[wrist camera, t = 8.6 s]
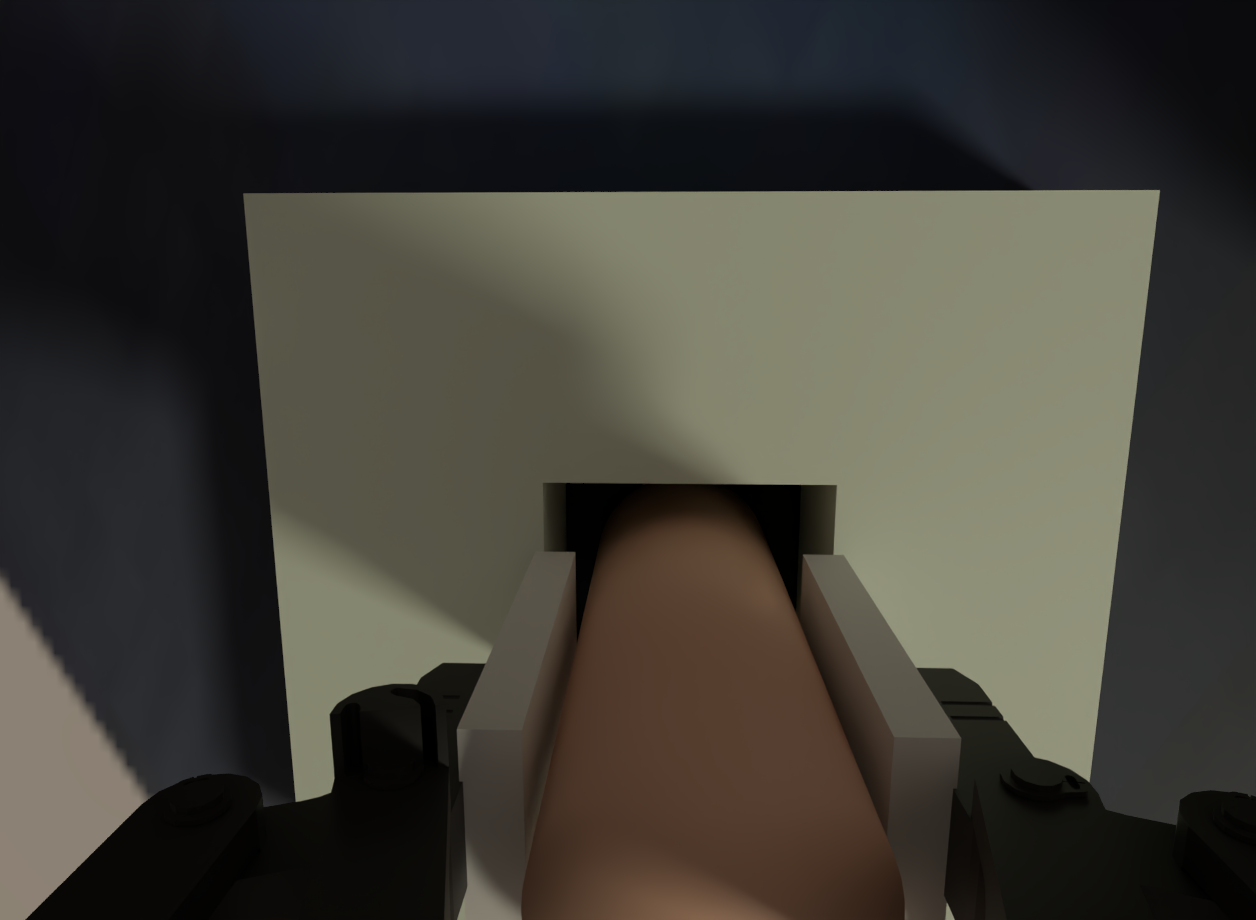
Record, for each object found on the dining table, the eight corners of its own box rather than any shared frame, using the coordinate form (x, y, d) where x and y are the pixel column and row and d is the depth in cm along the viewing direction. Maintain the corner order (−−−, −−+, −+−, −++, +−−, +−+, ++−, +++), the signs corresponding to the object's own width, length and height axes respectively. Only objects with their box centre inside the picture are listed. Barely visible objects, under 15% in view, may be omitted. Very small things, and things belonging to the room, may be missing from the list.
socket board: (326, 209, 20) (242, 193, 16) (1056, 207, 19) (1160, 189, 15) (369, 847, 23) (310, 966, 19) (993, 862, 22) (1064, 986, 18)
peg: (598, 474, 21) (515, 738, 9) (769, 475, 20) (917, 746, 9) (598, 634, 21) (525, 1071, 10) (763, 637, 21) (892, 1082, 10)
